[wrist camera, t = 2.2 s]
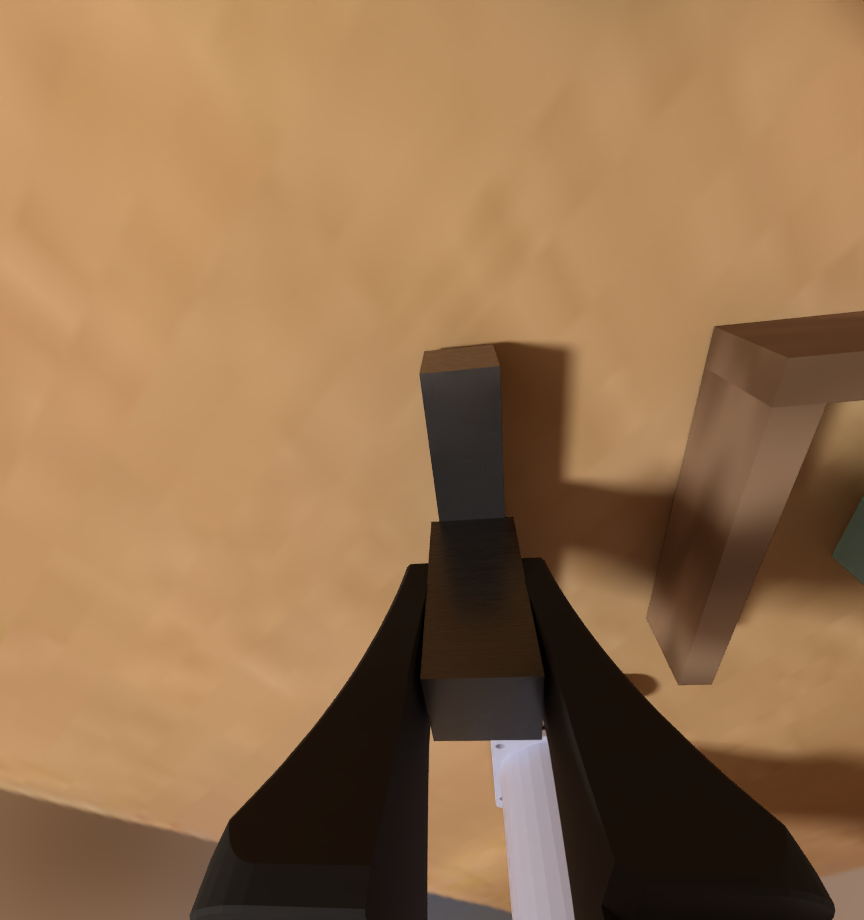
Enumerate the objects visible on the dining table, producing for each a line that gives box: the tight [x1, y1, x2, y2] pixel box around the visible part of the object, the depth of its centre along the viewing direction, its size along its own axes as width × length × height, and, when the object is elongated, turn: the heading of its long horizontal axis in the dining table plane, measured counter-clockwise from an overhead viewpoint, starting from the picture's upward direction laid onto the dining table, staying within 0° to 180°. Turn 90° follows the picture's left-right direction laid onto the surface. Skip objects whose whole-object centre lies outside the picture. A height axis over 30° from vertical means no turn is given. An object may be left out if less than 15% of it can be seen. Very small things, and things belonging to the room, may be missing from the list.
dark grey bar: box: [420, 344, 545, 741], centre depth 12 cm, size 2×12×7 cm, turn 7°
